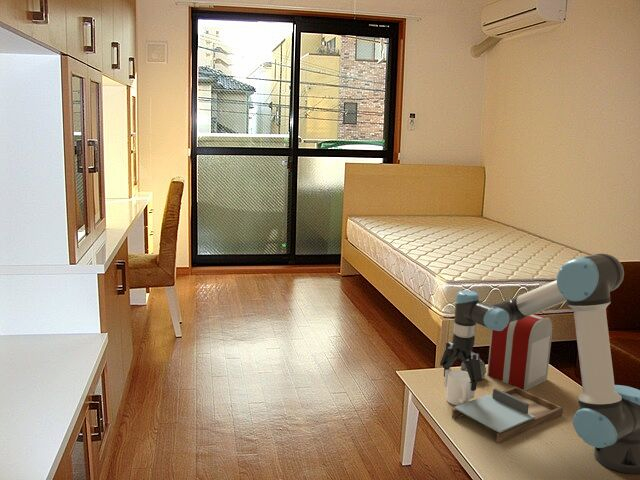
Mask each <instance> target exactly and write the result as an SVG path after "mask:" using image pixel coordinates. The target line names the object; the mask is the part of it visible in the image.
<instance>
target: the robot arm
mask: <svg viewBox="0 0 640 480" xmlns="http://www.w3.org/2000/svg"><path fill="white" fill-rule="evenodd" d="M624 276H625V271H624V266H623V265H622V263H621V262H620V260H618V258H616V257H615V256H614V255H611V254H608V253H595V254H592V255H587V256H581V257H580V256H579V257H576V258H573V259H571V260H568V261H566V262H565V263H564V264H563V265H561V267H560V268H559V270H558V272H557V275H556V279H555V280H553V281H551V282H548V283H546V284H544V285H541V286H539V287H537V288H534V289H532V290H529V291H528V292H527V291H526V292H525V293H522V294H520V295H518V296H515V297H512V298H510V299H507V300H504V301H500V302H496V303H491V304H490V303H485V302H484V301H480V297H479V294H478V293H477V292H476V291H475V290H468V289H467V290H466V289H465V290H460V291H458V292H457V294H456V298H455V299H456V300H455V306H454V307H455V308H454V321H453V333H452V341H449V342H446V343H445V349H444V353H443V354H442V358H441V360H440V363H439V366H441V367H443V369H444V370H443V377H444V382H443V387H444V388H447V380H448V372H449V371H452V370H453V369H452V366H453V364H455V362H456V361H457V359H460V360H461V361H462V362H464V364H465V365H466V368H467V371H468V374H469V377H470V380H471V381H469V384H468V395H467V399H469V400H472V399H474V397H475V391H477V386H478V385H477V384H478V383H480V382H482V381H483V378H482V375H481V368H480V361H479V359H480V360H481V358H480V357H481V355H480V353H475V352H474V350H473V348H474V346H475V339H476V338H475V337H476V336H475V335H476V328H477V327H476V325H479V326H483V327H485V328H487V329H489V330H496V331H502V330H504V328H506V327H507V325H508V323H509V322H513V321H517V320H521V319H524V318H526V317H527V316H529V315H532V314H538V313H540V312H542V311H545V310H548V309H550V308H553V307H555V306H558V305H561V304H564V303H566V304H567V306H568V307H569V308H570V309H572V310H573V316H574V317H573V318H574V324H575V325H574V326H575V335H576V343H577V351H578V360H579V368H580V378H581V385H582V386H581V387H582V392H581V393H580V394H579V395H578V396H577V400H578V401H577V402H578V409H577V410H576V412H575V413H574V415H573V416H572V417H573V418H572V424H573V429H574V431H575V433H576V434H577V436H578V438H581V440H582V441H583V443H586V444H587V445H588V446H590V447H593V448H594V450H593V456H594V458H595V460H596V461H597V462H599V464H601V465H602V466H604V467H605V468H608V469H611V470H613V471H616V472H619V473H623V474H632V475H636V473H638V474H640V473H639V472H640V389H638V388H634V387H632V386H628V385H622V384H621V385H620V384H615V379H614V378H615V377H614V370H613V369H614V368H613V360H612V353H611V345H610V344H611V343H610V335H609V334H610V333H609V326H608V325H609V324H608V319H607V310H606V309H607V307H608V306H609V305H610V304H611V294H610V293H611V292H613V291H615V290H616V289H618V288H619V287H620V285H621V284H622V282H623V281H624ZM471 356H472V357H471ZM468 359H469V360H468ZM467 360H468V361H467Z"/></svg>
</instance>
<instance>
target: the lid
mask: <svg viewBox="0 0 640 480" xmlns="http://www.w3.org/2000/svg"><path fill="white" fill-rule="evenodd" d="M492 389H493V390H492V394H486V395H484V396H480V397H478V398H475V399H471V400H469V402H467V403H464V404H461V405H458V406H457V405H455V406H454V407H453V409H456V410H458V411H460V412H462V413H464V414H465V415H466V416H467V417H469V418H471V419H473V420H474V421H477V422H479V423H481V424H482V425H484V426H486V427H488V428H490V429H492V430H494V431H495V432H497V433H501V432H503V431H506V430H508V429H510V428H513V427H515V426H517V425H520V424H522V423H524V422H527V421H529V420H532V419H534V418H535V416H533V415H531V414H529V413H528V407H529V403H527V402H525V401H522V400H520V399H518V398H516V397H514V396H512V395H510V394H507V393H505V392H503V391H504V390H501V389H499V388H497V387H494V388H492ZM492 395H493V396H492ZM465 415H464V416H465Z"/></svg>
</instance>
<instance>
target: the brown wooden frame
mask: <svg viewBox="0 0 640 480" xmlns="http://www.w3.org/2000/svg"><path fill="white" fill-rule="evenodd" d="M502 391H503V392H505V393H507V394H510V395H512V396H514V397H516V398H518V399H520V400H522V401H525V402H527V403H529V407H528V413H529V414H531V415H533V416H535V418H534V419H532V420H529V421H527V422H524V423H522V424H520V425H517V426H515V427H513V428H510V429H508V430H506V431H503V432H501V433H499V432H497V433H496V439H495V443H497V444H500V443H503V442H505V441H508V440H509V439H512V438H514V437H517V436H519V435H521V434H524V433H526V432H527V431H530V430H532V429H534V428H537V427H539V426H542V425H543V424H546V423H548V422H551V421H553V420H555V419H557V418H560V417H562V416H563V411H564V407H562V406H560V405H558V404H555V403H554V402H551V401H549V400H547V399H544V398H542V397H540V396H538V395H536V394H533V393H531V392H529V391H528V390H523V389H520V388H518V387H516V386H513V387H510V388H507V389H505V390H502ZM491 395H492V396H493V394H491ZM451 415H452V416H451V418H452V419H456V418H457V419H458V418H460V417H463V416H465V414H464V413H462V412H460V411H458V410H456V409H454V408H453V409H452V411H451Z"/></svg>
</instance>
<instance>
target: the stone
mask: <svg viewBox="0 0 640 480" xmlns="http://www.w3.org/2000/svg"><path fill="white" fill-rule="evenodd" d="M471 357H472V356H471ZM468 360H469V359H468ZM468 360H467V361H468ZM479 361H480V368H481V375H482V379H484V378H485V375H486V374H487V367H486V364H485V362H484V361H483V360H482V359H481V358H480V359H479ZM460 370H462V371H466V372H468V371H467V368H466V365H465V364H464V362H463V361H462V362H461V364H460Z"/></svg>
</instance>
